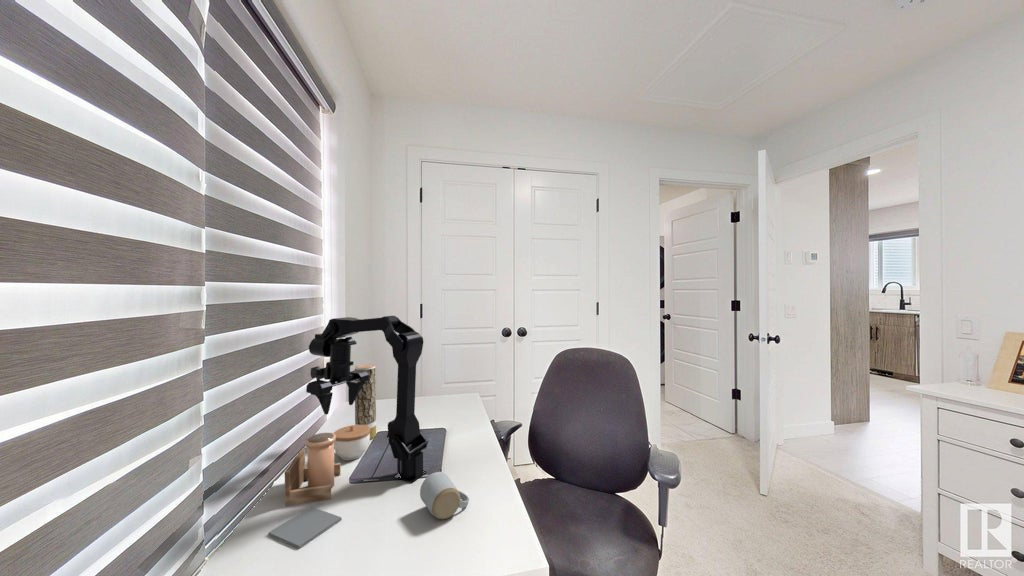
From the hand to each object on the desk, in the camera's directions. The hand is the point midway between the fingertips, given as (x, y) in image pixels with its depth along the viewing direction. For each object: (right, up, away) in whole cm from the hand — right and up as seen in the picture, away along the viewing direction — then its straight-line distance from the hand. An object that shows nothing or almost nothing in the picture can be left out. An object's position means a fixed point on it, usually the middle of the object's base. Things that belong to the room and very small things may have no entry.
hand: (338, 409), depth 112 cm
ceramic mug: (+38, -15, -26) cm, 48 cm away
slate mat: (+8, -15, -32) cm, 36 cm away
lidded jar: (+3, -16, +2) cm, 16 cm away
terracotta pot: (+3, -15, -16) cm, 22 cm away
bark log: (+2, -16, +16) cm, 22 cm away
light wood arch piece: (+1, -15, -16) cm, 22 cm away
